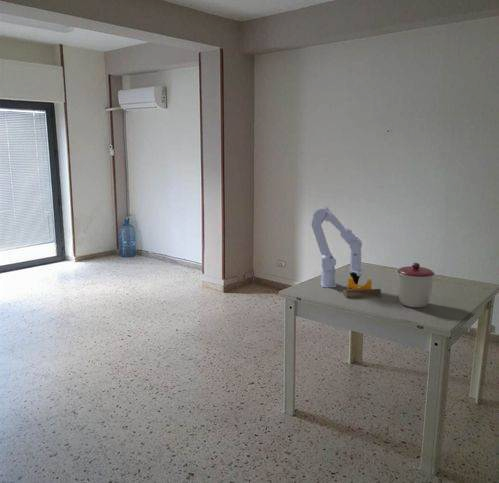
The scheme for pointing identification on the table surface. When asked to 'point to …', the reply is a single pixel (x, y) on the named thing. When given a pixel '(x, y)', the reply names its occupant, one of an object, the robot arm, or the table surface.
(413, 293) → the canister
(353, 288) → the pipe clamp
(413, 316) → the table surface
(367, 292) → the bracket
